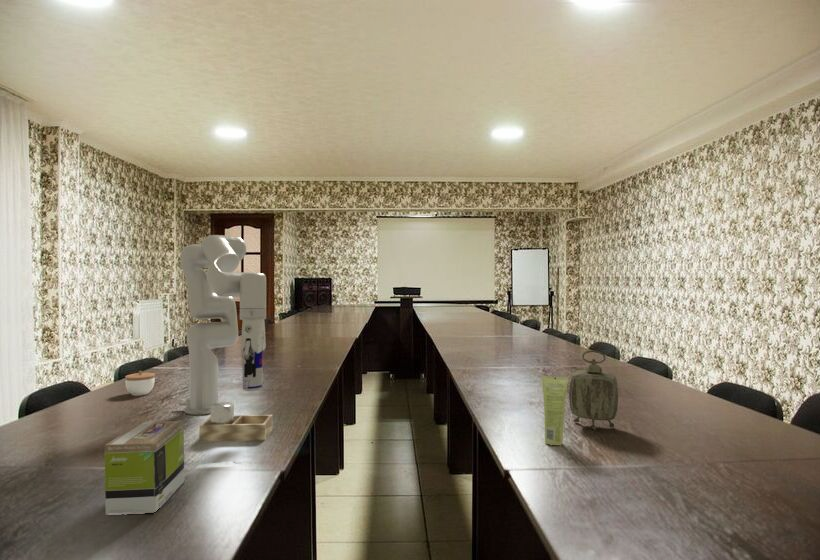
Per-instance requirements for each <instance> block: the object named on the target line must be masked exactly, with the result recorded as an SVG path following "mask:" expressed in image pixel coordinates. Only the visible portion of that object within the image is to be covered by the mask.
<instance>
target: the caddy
mask: <svg viewBox="0 0 820 560" xmlns="http://www.w3.org/2000/svg"><path fill="white" fill-rule="evenodd" d="M273 418H274V417H273V414H249V415H248V414H238V415H237V414H236V415H235V414H234V423H233V424H218V425H211V416H209V417H208V418H207V419H206V420H204V421H203V422H202V423H201V424H199V426H198V429H199V433H198V434H199V435H198V436H199V443H201V442H202V443H205V442H241V441H243V442H245V441H250V442H251V441H266V440H267V438H268V437H269V435H270V434H271V432H272V431H273V429H274V428H273V426H274V425H273Z"/></svg>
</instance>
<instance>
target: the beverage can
mask: <svg viewBox="0 0 820 560" xmlns="http://www.w3.org/2000/svg"><path fill="white" fill-rule="evenodd" d="M262 343H263V342H262ZM262 345H263V344H262ZM244 351H245V348H244ZM263 351H264V350H263ZM263 351H261V352H260V353H256V352H255V363H256V377H253V373H252V374H251V375H248V377H244V360H245V359H244V353H243V352H242V390H243V391H245V392H257V391H259V390H262V389H263V372H264V371H263V361H264V359H263V353H264V352H263ZM250 353H253V350H250ZM251 356H253V355H251Z"/></svg>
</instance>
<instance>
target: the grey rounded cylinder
mask: <svg viewBox="0 0 820 560" xmlns="http://www.w3.org/2000/svg"><path fill="white" fill-rule="evenodd" d="M234 415H235V403H234V402H225V401H224V402H218V403H216V404H213V405H211V413H210V417H211V425H218V424H233V423H234Z"/></svg>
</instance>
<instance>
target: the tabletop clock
mask: <svg viewBox="0 0 820 560" xmlns="http://www.w3.org/2000/svg"><path fill="white" fill-rule="evenodd" d="M589 353H597V354H600V355H602V356H603V360H600V361H596V359H595V358H592V360H588V359H586V358H584V357H585V355H586V354H589ZM581 359H582V360H583V361H584V362H585V363H588V365H586V367H585V369H579V370H576V371H574V372H573V374H572V377H571V379H570V382H569V391H568V399H569V400H568V402H569V409H570V411H571V414H572V415H573V416H576V418H574V419H573V422H574V423H575V422H579V423H580V418H581V419H587V420H591V425H590V429H591V430H592V429H595V430H597V426H596V425H595V421H607V422H608V427H609V428H611V427H613V428H614V427H615V423H614V422H612V421H611V420H615V418H616V415H617V411H618V406H619V386H618V380H617V377H616V375H615V374H614V373H611V372H608V371H603V369H602V367H601V366H600V365H599V364H602V363H604V362H605V361H606V355H605V354H604V353H603V352H601V351H599V350H595V349H592V350H591V349H590V350H589V349H588V350H586V351H584V352H583V353H582V356H581Z"/></svg>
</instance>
